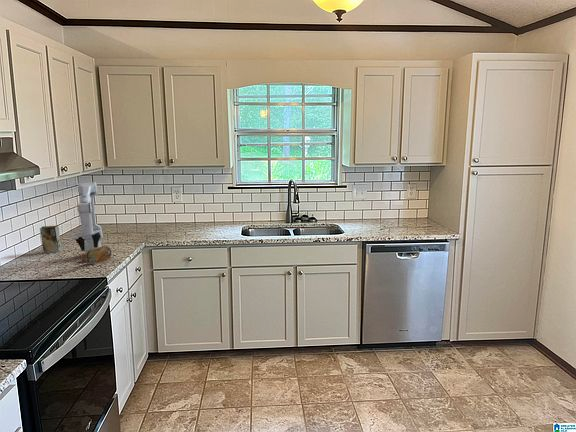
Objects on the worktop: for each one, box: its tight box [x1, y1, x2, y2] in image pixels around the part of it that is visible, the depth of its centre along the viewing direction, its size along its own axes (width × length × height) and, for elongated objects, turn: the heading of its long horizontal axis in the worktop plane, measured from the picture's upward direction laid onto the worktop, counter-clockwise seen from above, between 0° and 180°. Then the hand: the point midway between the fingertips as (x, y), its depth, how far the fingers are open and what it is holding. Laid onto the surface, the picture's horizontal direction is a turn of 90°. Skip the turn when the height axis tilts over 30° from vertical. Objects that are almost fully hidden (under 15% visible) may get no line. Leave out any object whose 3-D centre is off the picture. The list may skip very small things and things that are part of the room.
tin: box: [86, 245, 112, 265], centre depth 240 cm, size 15×3×8 cm, turn 151°
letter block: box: [80, 252, 88, 263], centre depth 243 cm, size 5×4×5 cm
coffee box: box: [39, 225, 62, 254], centre depth 265 cm, size 9×6×16 cm
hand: (89, 249), depth 231 cm, fingers open, 7 cm apart
